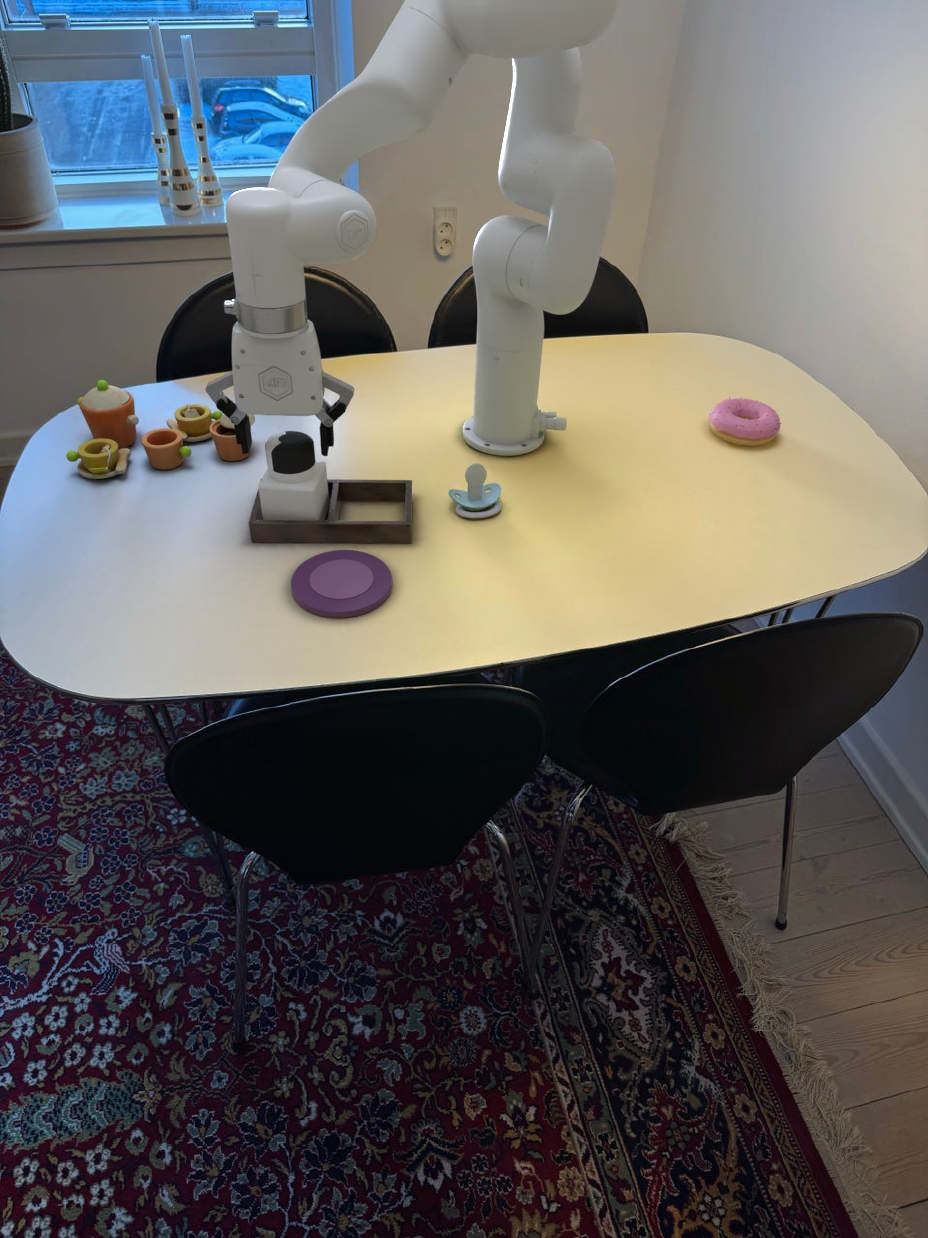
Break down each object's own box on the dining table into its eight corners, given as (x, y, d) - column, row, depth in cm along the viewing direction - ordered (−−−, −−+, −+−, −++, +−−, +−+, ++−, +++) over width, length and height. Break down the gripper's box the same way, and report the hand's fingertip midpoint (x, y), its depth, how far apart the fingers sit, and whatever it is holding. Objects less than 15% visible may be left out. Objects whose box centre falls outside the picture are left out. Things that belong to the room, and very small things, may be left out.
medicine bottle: (330, 506, 116) (323, 426, 108) (318, 537, 110) (310, 455, 102) (278, 502, 116) (268, 422, 108) (264, 532, 111) (252, 450, 103)
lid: (393, 556, 108) (393, 549, 107) (390, 618, 99) (390, 611, 98) (297, 555, 107) (297, 548, 106) (286, 618, 98) (285, 610, 97)
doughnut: (700, 441, 133) (706, 416, 130) (712, 410, 140) (718, 387, 138) (772, 456, 130) (779, 431, 127) (780, 424, 137) (787, 400, 135)
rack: (412, 498, 118) (412, 479, 116) (411, 543, 110) (411, 524, 108) (263, 497, 117) (260, 478, 115) (251, 542, 109) (248, 523, 107)
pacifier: (509, 517, 115) (494, 492, 120) (512, 477, 111) (497, 453, 115) (457, 525, 114) (444, 499, 118) (459, 485, 109) (445, 461, 114)
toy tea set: (70, 487, 117) (50, 424, 111) (76, 433, 128) (58, 373, 122) (263, 465, 123) (254, 404, 117) (252, 415, 134) (244, 356, 128)
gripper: (186, 323, 92) (210, 463, 103) (348, 328, 93) (354, 466, 104) (201, 298, 97) (221, 433, 108) (353, 303, 98) (358, 436, 109)
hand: (286, 449), depth 106 cm, fingers open, 9 cm apart
